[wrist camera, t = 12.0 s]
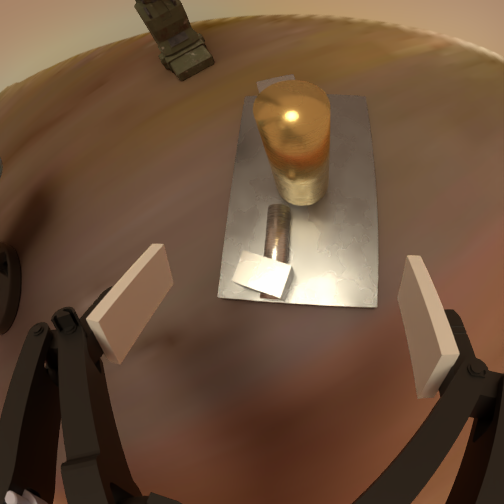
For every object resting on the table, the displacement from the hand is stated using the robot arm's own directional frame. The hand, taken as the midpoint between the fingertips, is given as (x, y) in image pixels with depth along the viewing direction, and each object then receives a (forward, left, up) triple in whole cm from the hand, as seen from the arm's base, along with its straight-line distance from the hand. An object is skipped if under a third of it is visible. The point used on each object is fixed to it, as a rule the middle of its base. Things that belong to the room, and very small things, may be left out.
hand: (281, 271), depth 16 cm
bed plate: (-2, +11, -12) cm, 16 cm away
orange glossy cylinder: (-2, +10, -10) cm, 15 cm away
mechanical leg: (-23, +30, -12) cm, 39 cm away
